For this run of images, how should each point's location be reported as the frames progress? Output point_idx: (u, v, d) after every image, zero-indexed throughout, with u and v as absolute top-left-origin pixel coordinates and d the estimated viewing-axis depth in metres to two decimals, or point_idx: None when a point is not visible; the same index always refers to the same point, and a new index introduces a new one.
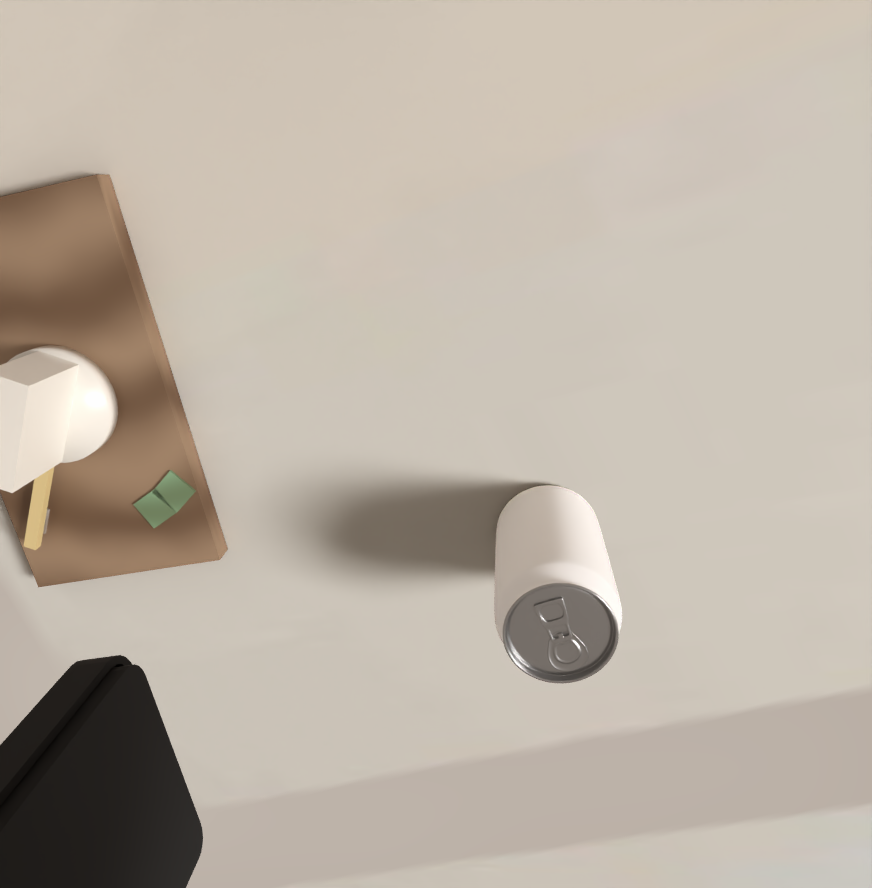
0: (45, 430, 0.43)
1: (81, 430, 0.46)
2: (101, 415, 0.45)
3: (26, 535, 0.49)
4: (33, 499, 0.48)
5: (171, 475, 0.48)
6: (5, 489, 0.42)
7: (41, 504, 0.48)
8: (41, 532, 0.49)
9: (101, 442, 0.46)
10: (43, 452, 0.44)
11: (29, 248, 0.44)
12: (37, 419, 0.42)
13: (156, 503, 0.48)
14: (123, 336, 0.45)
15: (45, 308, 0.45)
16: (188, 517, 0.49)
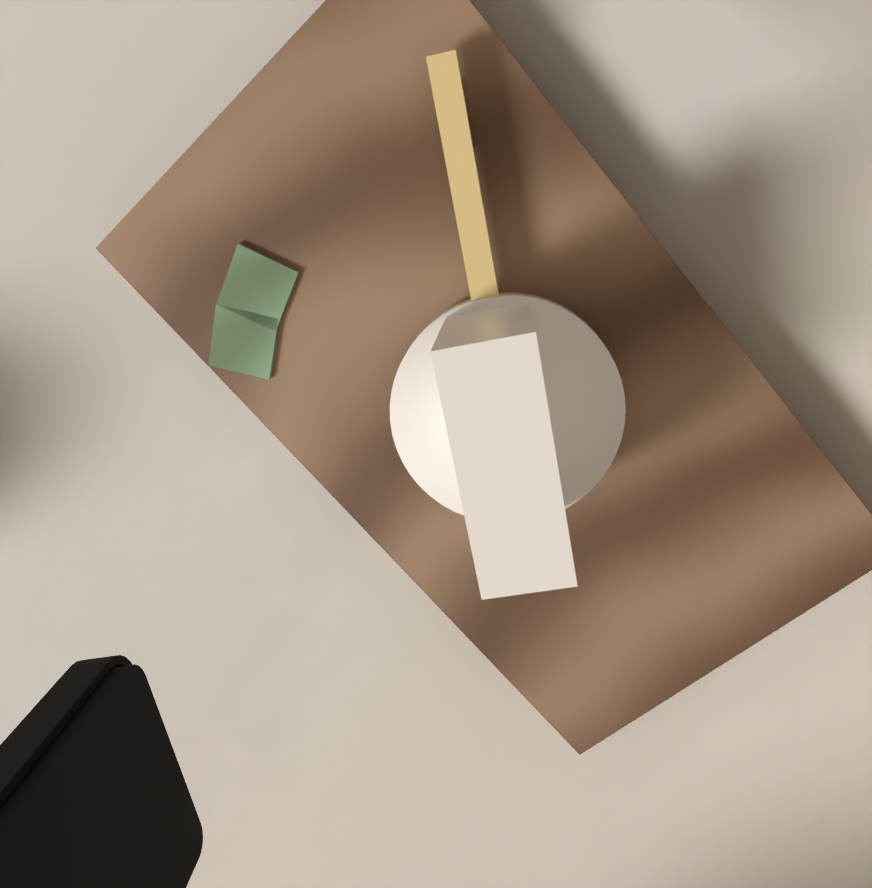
0: None
1: (433, 401, 0.23)
2: (411, 450, 0.23)
3: (458, 84, 0.20)
4: (473, 188, 0.21)
5: (261, 373, 0.24)
6: (448, 351, 0.17)
7: (453, 187, 0.21)
8: None
9: None
10: None
11: (648, 618, 0.26)
12: None
13: (259, 301, 0.24)
14: (450, 561, 0.26)
15: (593, 542, 0.25)
16: (195, 301, 0.24)
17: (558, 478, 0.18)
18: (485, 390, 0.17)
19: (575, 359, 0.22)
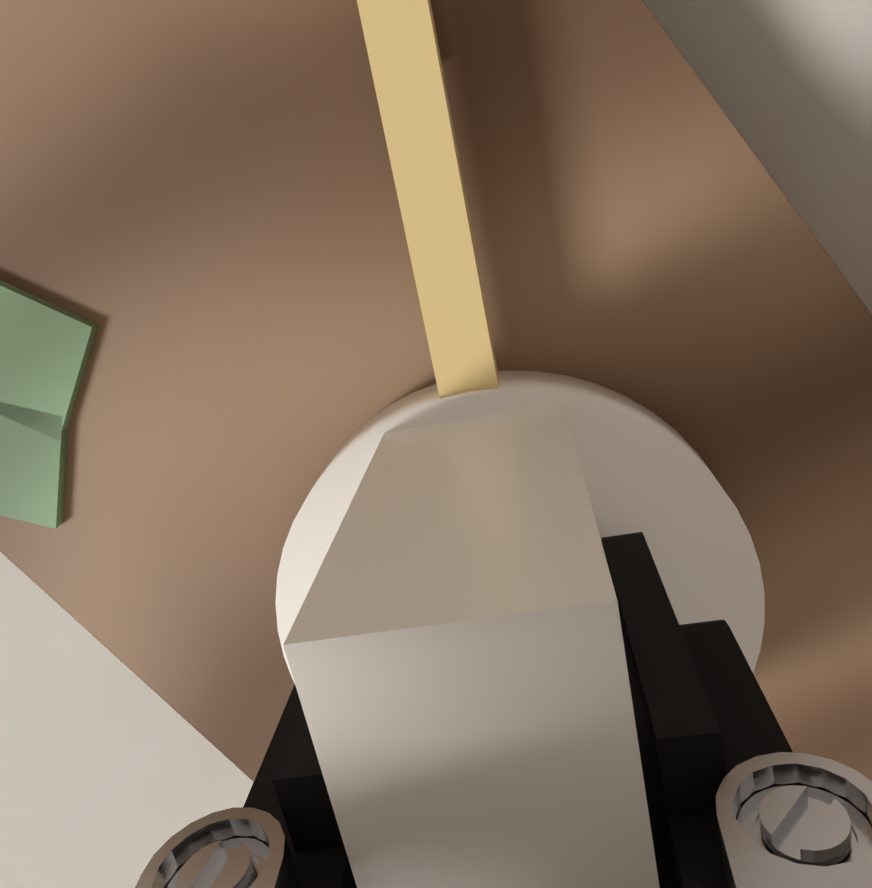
0: None
1: None
2: None
3: None
4: (440, 151, 0.09)
5: (40, 517, 0.13)
6: (339, 647, 0.06)
7: (393, 149, 0.09)
8: None
9: None
10: None
11: None
12: None
13: (21, 382, 0.12)
14: None
15: None
16: None
17: None
18: (456, 753, 0.06)
19: (662, 520, 0.10)
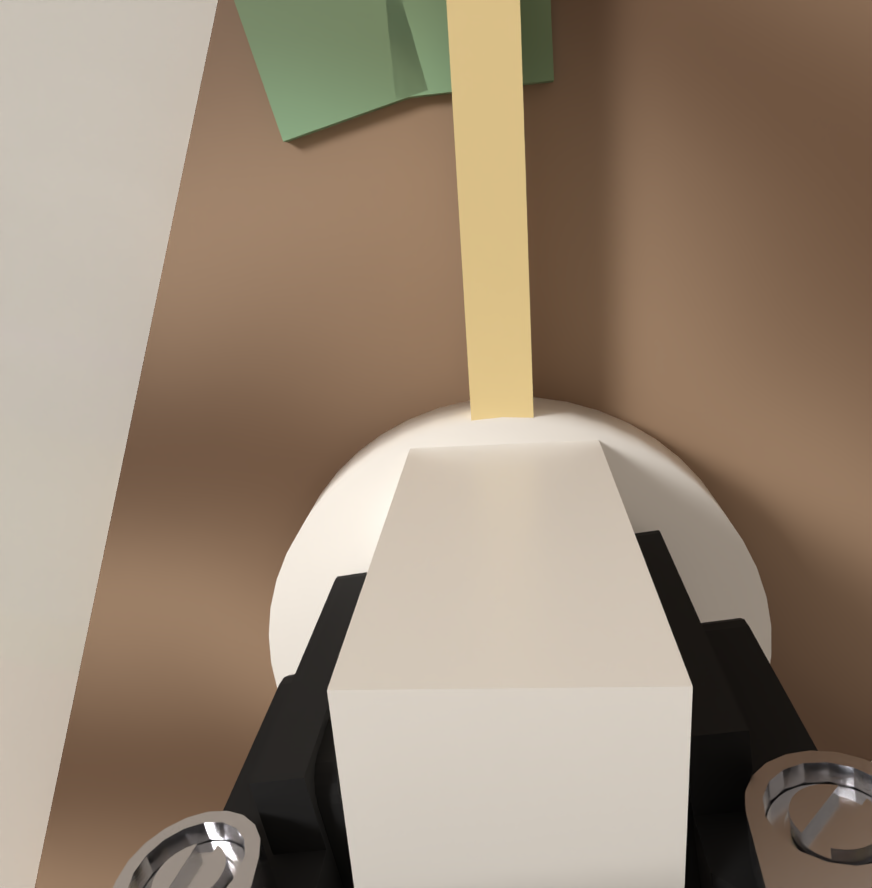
0: None
1: None
2: None
3: None
4: (510, 168, 0.09)
5: (285, 116, 0.10)
6: (386, 699, 0.05)
7: (461, 158, 0.09)
8: None
9: None
10: None
11: None
12: None
13: (441, 21, 0.09)
14: (170, 658, 0.13)
15: None
16: None
17: None
18: (491, 821, 0.05)
19: (680, 571, 0.10)
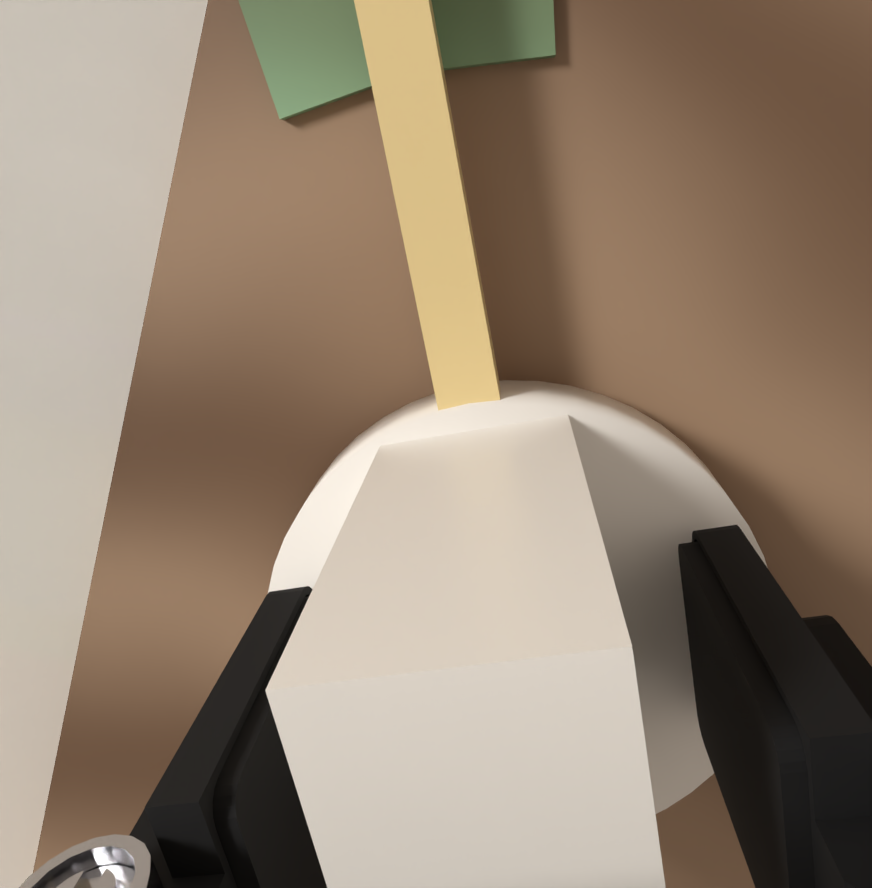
0: None
1: None
2: None
3: None
4: (440, 150, 0.09)
5: (282, 93, 0.10)
6: (326, 693, 0.05)
7: (390, 148, 0.09)
8: None
9: None
10: None
11: None
12: None
13: None
14: (167, 647, 0.13)
15: None
16: None
17: None
18: (453, 807, 0.05)
19: (670, 538, 0.10)
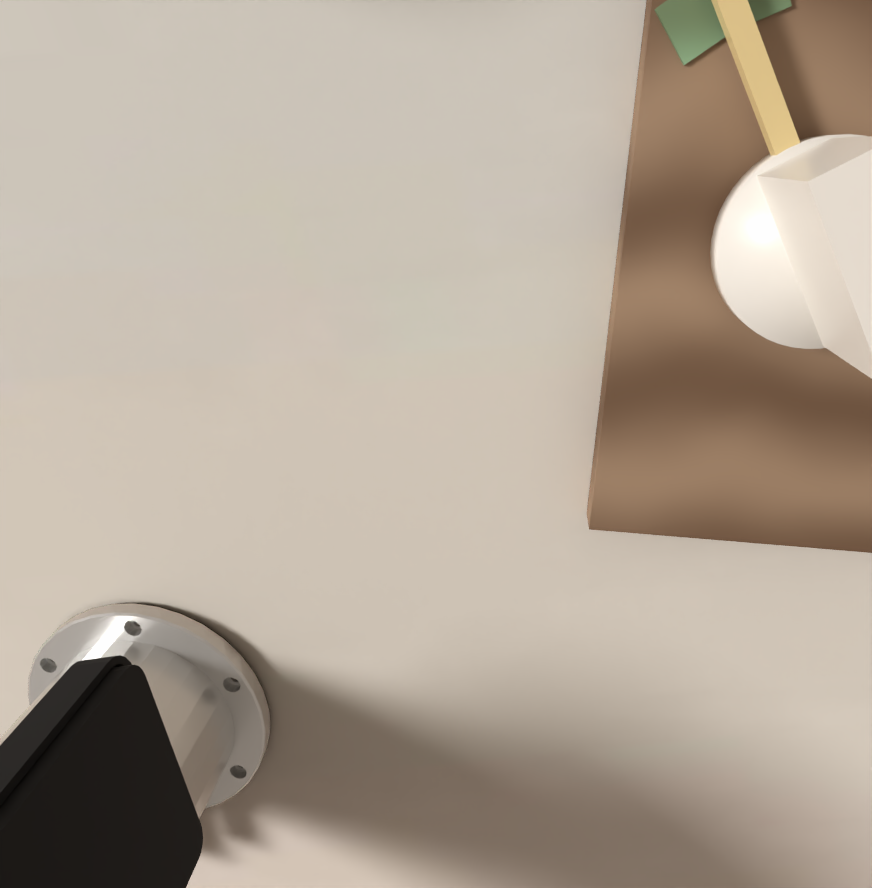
0: (814, 268, 0.24)
1: (758, 253, 0.26)
2: (744, 303, 0.27)
3: None
4: (761, 54, 0.24)
5: (684, 54, 0.25)
6: (823, 176, 0.20)
7: (742, 59, 0.24)
8: None
9: (717, 260, 0.26)
10: (795, 224, 0.23)
11: (732, 472, 0.30)
12: (839, 306, 0.23)
13: None
14: (654, 319, 0.29)
15: (756, 390, 0.29)
16: None
17: None
18: (861, 200, 0.20)
19: None
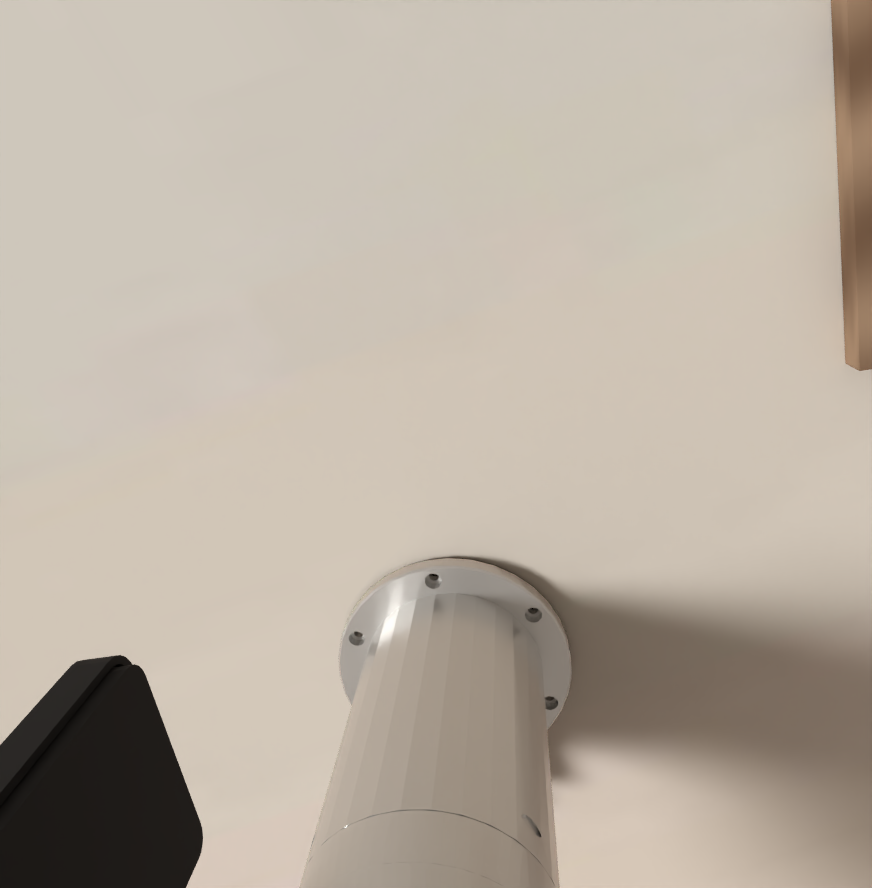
0: None
1: None
2: None
3: None
4: None
5: None
6: None
7: None
8: None
9: None
10: None
11: None
12: None
13: None
14: None
15: None
16: None
17: None
18: None
19: None
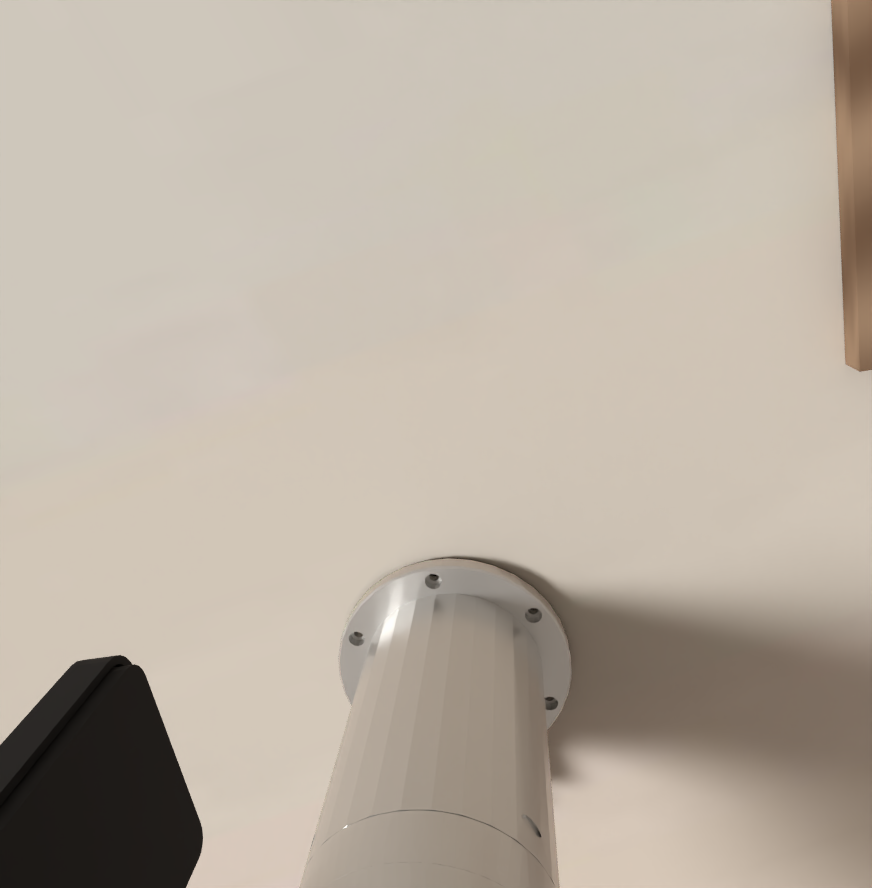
0: None
1: None
2: None
3: None
4: None
5: None
6: None
7: None
8: None
9: None
10: None
11: None
12: None
13: None
14: None
15: None
16: None
17: None
18: None
19: None
